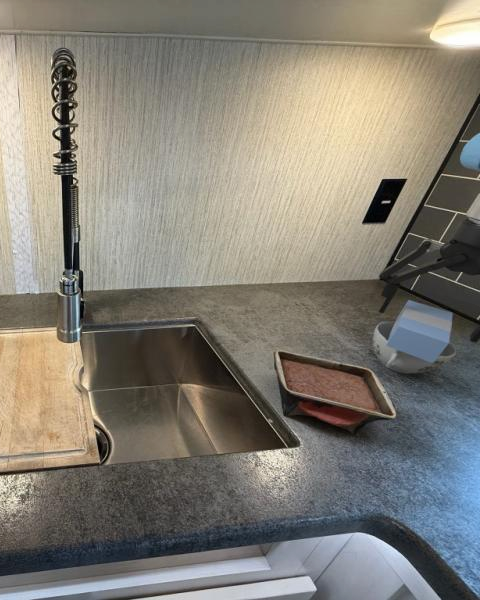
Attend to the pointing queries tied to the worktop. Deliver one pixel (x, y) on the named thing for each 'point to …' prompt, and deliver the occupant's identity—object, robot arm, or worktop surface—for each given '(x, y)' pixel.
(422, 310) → the tea packet
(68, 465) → the worktop surface
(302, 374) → the baking dish
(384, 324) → the teacup
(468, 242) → the robot arm
